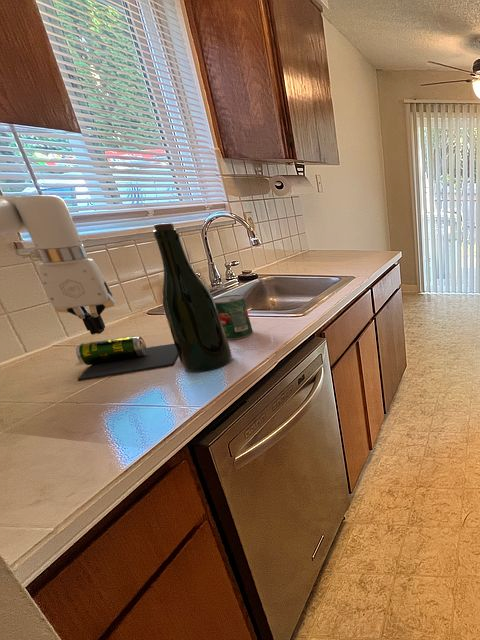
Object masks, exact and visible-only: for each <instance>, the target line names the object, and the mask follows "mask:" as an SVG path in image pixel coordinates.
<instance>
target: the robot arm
mask: <svg viewBox="0 0 480 640" xmlns="http://www.w3.org/2000/svg"><path fill="white" fill-rule="evenodd" d="M21 232H28V235H29V236H30V237H29V238H30V239H31V241H32V244H33V246H34V247H35V249H34V251H30V252H29V255H30V257H31V259H39V261H40V262H41V263H38V264H37V267H38V272H39V276H40V280H41V283H42V286H43V287H42V288H43V290H44V292H45V296H46V297H47V300H48V302H49V304H50V306H51V307H53V308H54V309H55V311H56V312H57V313H64V314H65V313H66V314H72V316H73V315H74V316H76V317H77V318H78V319H79V320H82V322H83V325H84V326H85V327H84V328H86V331H88V332H89V333H90V334H91V335H96V334H97V335H99V334H100V335H101V334H102V333H103V332H104V331H105V329H106V325H105V323H104V319H103V318H102V316H101V314H103V312H104V310H106V309H109V308H113V307H114V306H116V305H117V302H116V300H115V299H114V297H113V293H112V290H111V288H110V285H109V284H108V282H107V279H106V278H105V276H104V274H103V272H102V270H101V268H100V267H99V266H98V264H97V263H96V261H95V260H94V259H93V258H89V256H88V254H87V251H86V249H85V246H84V244H83V240H82V238H81V237H80V234H79V232H78V230H77V227H76V224H75V223H74V220H73V218H72V215H71V212H70V210H69V208H68V206H67V204H66V201H65V200H64V199H63V198H62V197H60V196H58V195H52V194H41V195H39V194H37V195H22V196H13V195H0V236H3V235H10V234H15V233H21ZM87 307H88V308H89V309H88V308H87Z"/></svg>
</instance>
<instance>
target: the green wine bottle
mask: <svg viewBox="0 0 480 640" xmlns="http://www.w3.org/2000/svg"><path fill="white" fill-rule="evenodd" d="M153 227H154V230H153V237H154V239H155V241H156V243H157V244H156V245H157V247H158V250H159V253H160V257H161V261H162V269H163V281H162V282H163V283H162V287H161V288H162V289H161V303H162V308H163V313H164V317H165V319H166V322H167V325H168V328H169V332H170V334H171V337H172V341H173V344H175V347H176V350H177V353H178V359H179V361H180V364H181V366H182V369H184V370H186V371H189V372H196V373H197V372H206V371H212V370H214V369H218V368H221V367H224V366H225V365H227V364H228V363H230V362H231V360H232V359H233V354H232V351H231V347H230V344H229V340H227V337H226V334H225V331H224V328H223V325H222V322H221V319H220V316H219V313H218V310H217V307H216V304H215V302H214V299H215V298H214V296H213V295H212V293H211V291H210V289H209V288H208V287H207V285H206V284H205V283H204V281H202V279H201V278H200V277H199V275H198V274H197V273H196V271H195V270H194V268H193V267H192V265H191V263H190V261H189V258H188V256H187V254H186V252H185V249H184V247H183V243H182V241H181V238H180V237H181V235H180V232H179V231H178V230H177V229H176V228H175V226H174V223H171V222H168V223H167V222H162V223H161V222H160V223H155V224H153Z"/></svg>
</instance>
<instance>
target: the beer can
mask: <svg viewBox="0 0 480 640" xmlns="http://www.w3.org/2000/svg"><path fill="white" fill-rule="evenodd" d="M146 348H147V345H146V342H145V339H144V338H143V337H142V336H141V335H140V336H135V335H132V336H126V337H119V338H113V339H105V340H98V341H90V342H83V343H79V344H78V345H77V346H76V347H75V354H76V357H77V359H78V361H79V363H80V364H82V365H85V366H91V365H92V364H98V363H104V362H111V361H117V360H123V359H130V358H136V357H141V356H143V355H146V353H147V349H146Z"/></svg>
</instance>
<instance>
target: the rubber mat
mask: <svg viewBox="0 0 480 640" xmlns="http://www.w3.org/2000/svg"><path fill="white" fill-rule="evenodd" d="M146 349H147V353H146V355H143V356H141V357H136V358H130V359H123V360H117V361H111V362H104V363H98V364H92V365H89V367H88V368H87V369H86V370H84V372H83V373H82V374H81V375H80V376H79V377H78V378H77V381H78V382H80V381H85V380H92V379H98V378H99V379H100V378H104V377H110V376H116V375H117V376H118V375H122V374H129V373H135V372H141V371H147V370H154V369H159V368H167V367H173V366H174V364H175V363H176V360H177V359H178V358H179V356H178V353H177V350H176V347H175V344H174V343H170V344H169V343H168V344H161V345H155V346H149V347H148V346H147V347H146Z"/></svg>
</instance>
